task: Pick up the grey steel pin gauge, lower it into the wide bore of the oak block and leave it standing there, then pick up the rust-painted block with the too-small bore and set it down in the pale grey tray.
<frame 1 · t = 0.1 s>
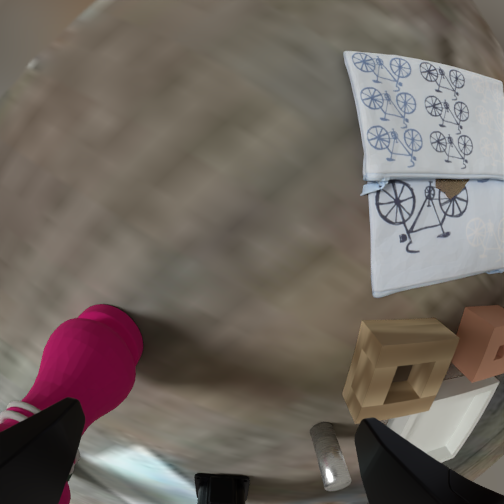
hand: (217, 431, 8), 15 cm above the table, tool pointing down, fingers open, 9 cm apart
pepper mill: (111, 335, 23), on the table
pin gauge: (321, 429, 26), on the table
rust block: (473, 331, 25), on the table
oak block: (389, 356, 25), on the table
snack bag: (446, 175, 21), on the table
tray: (429, 422, 27), on the table
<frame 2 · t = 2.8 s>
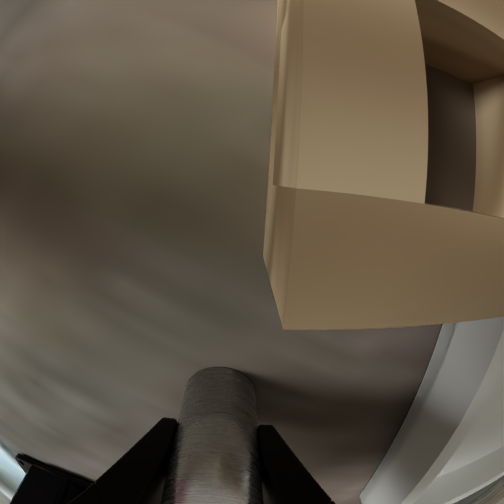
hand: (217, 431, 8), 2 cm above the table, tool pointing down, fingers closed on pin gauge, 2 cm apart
pin gauge: (220, 394, 9), on the table, touching gripper
oak block: (399, 134, 8), on the table
tray: (498, 391, 11), on the table
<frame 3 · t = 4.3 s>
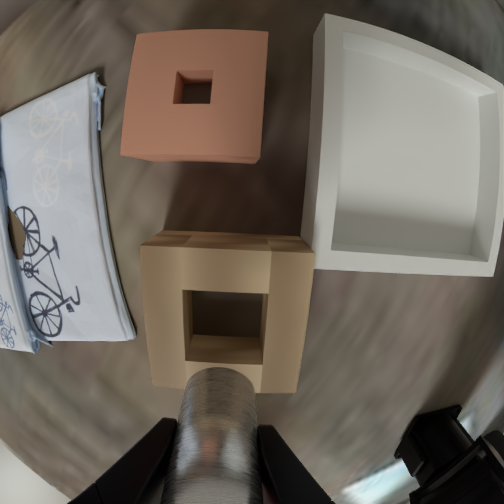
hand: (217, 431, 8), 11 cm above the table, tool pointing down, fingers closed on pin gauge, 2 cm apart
pin gauge: (220, 394, 9), point 9 cm above the table, touching gripper
pen holder: (477, 449, 26), on the table
rust block: (206, 112, 16), on the table
oak block: (228, 295, 19), on the table
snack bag: (15, 233, 18), on the table
tray: (411, 155, 17), on the table
when the fingers open (5 cm above the table, at t = 5.7 s): pin gauge drops 2 cm, resting on oak block.
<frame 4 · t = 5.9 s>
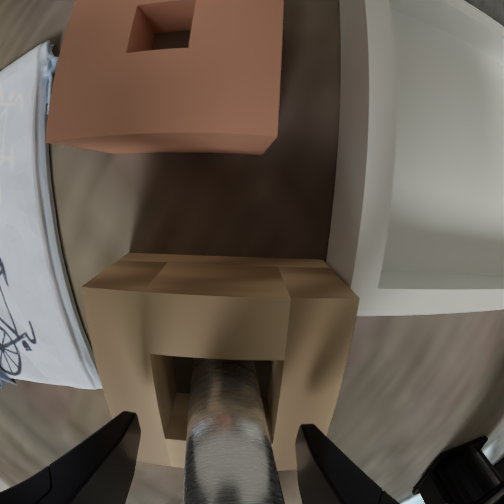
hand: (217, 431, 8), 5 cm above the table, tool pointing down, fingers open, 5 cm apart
pin gauge: (223, 360, 11), point 1 cm above the table, touching oak block
pen holder: (493, 471, 21), on the table
rust block: (190, 81, 10), on the table
oak block: (223, 340, 13), on the table, touching pin gauge
tray: (466, 150, 11), on the table
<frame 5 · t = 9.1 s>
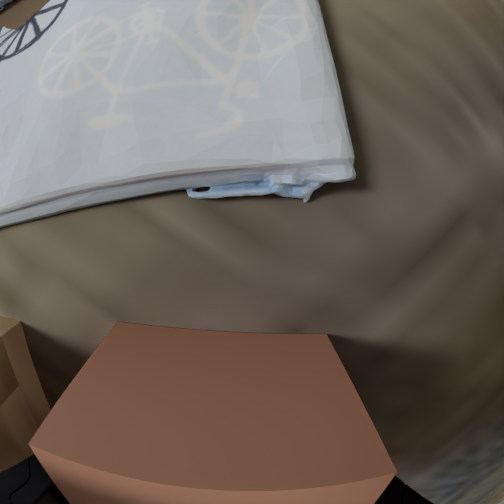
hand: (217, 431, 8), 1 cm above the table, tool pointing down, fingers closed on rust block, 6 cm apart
rust block: (218, 409, 9), on the table, touching gripper
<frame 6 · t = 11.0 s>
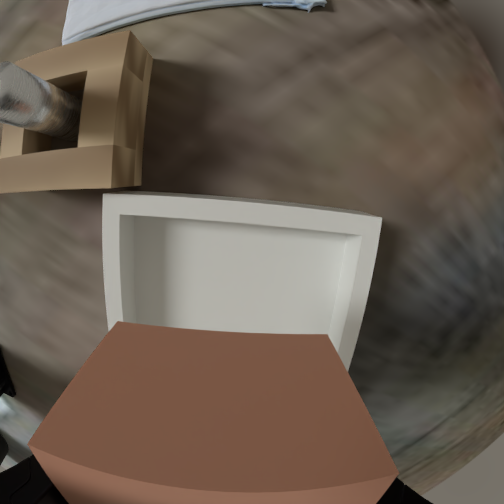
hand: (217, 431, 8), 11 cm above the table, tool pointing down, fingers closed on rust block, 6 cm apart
pin gauge: (77, 121, 14), point 1 cm above the table, touching oak block
rust block: (218, 409, 9), point 10 cm above the table, touching gripper
oak block: (90, 124, 15), on the table, touching pin gauge
tray: (233, 313, 18), on the table
when the fingers open (4 cm above the table, at t = 12.8 s): rust block drops 2 cm, resting on tray.
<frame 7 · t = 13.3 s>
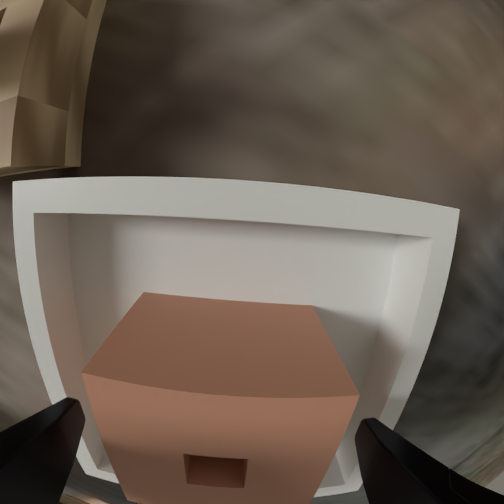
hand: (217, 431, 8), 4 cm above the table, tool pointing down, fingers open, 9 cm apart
rust block: (222, 369, 11), point 1 cm above the table, touching tray
oak block: (24, 91, 9), on the table, touching pin gauge
tray: (224, 357, 12), on the table
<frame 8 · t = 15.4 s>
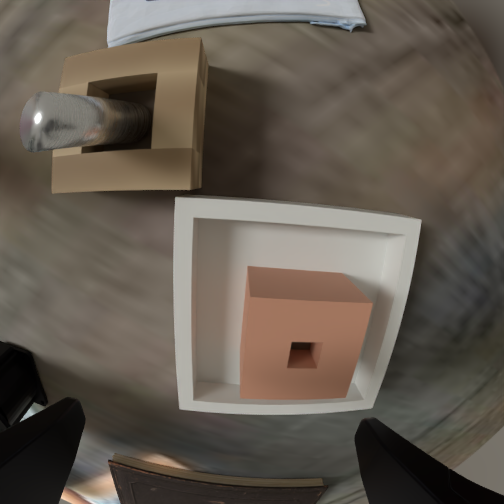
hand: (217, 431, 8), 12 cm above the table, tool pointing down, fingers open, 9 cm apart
pin gauge: (133, 123, 15), point 2 cm above the table, tilted 14°, touching oak block
rust block: (289, 313, 19), point 1 cm above the table, touching tray
oak block: (143, 126, 17), on the table, touching pin gauge
hardcover book: (213, 498, 27), on the table
tray: (288, 308, 20), on the table
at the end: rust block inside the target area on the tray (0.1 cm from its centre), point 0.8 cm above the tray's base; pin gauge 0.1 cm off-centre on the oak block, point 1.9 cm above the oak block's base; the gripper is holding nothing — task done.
